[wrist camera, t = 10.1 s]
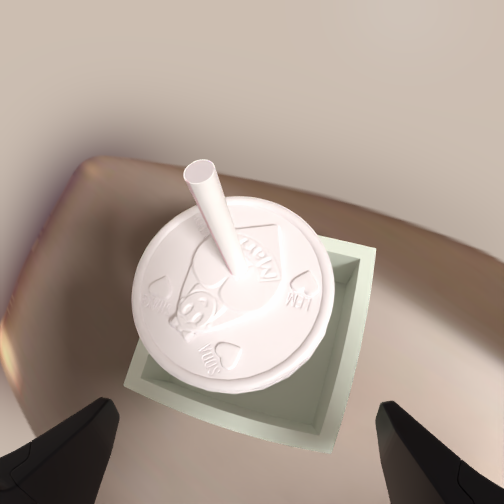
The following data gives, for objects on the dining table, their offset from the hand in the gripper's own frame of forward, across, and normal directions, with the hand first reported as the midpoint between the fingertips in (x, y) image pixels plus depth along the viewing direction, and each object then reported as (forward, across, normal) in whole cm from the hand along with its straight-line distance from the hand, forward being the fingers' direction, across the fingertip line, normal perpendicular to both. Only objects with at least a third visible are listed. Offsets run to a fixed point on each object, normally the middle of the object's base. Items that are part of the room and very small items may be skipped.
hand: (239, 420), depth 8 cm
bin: (+9, 0, +3) cm, 10 cm away
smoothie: (+9, 0, +3) cm, 9 cm away
